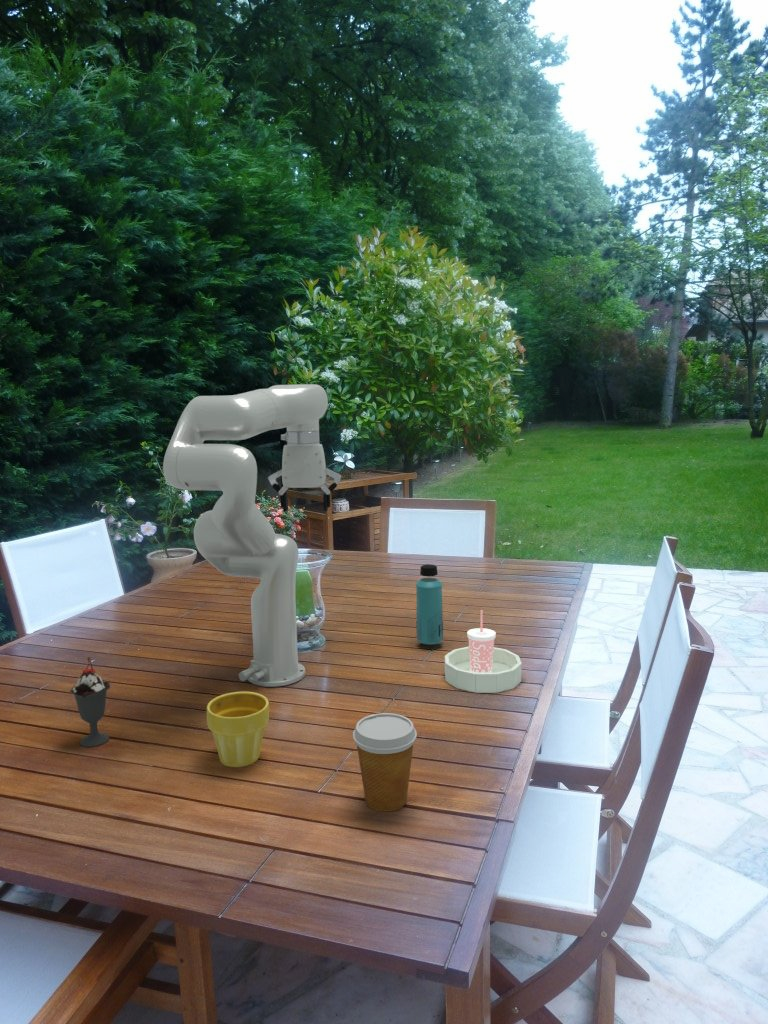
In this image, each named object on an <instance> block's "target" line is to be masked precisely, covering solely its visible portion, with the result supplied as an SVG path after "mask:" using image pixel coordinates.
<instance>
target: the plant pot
mask: <svg viewBox="0 0 768 1024" xmlns="http://www.w3.org/2000/svg"><path fill="white" fill-rule="evenodd" d="M269 720H270V703H269V699H268V698H267V697H266V696H264V695H263V694H261V693H258V692H253V691H235V692H227V693H224V694H221V695H218V696H216V697H214V698H213V699H211V700H210V701H209V702H208V703H207V705H206V724H207V727H208V730H210V731H211V732H212V735H213V736H212V737H213V739H214V743H215V747H216V749H217V750H216V751H217V753H218V754H217V755H218V758H219V761H220V762H221V764H222V765H223V766H227V767H229V768H230V767H231V768H242V767H247V766H249V765H253V764H254V763H256V762H257V761H258V760H259V758H260V756H261V749H262V743H263V737H264V733H265V727H266V726H267V725H268V723H269Z"/></svg>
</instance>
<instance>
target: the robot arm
mask: <svg viewBox="0 0 768 1024" xmlns="http://www.w3.org/2000/svg"><path fill="white" fill-rule="evenodd" d="M328 402H329V400H328V395H327V392H326V391H325V389H324V387H322V386H321V385H319V384H316V383H315V384H312V383H311V384H310V383H308V384H307V383H306V384H305V383H301V384H299V383H298V384H275V385H272V386H270V387H268V388H258V389H254V390H250V391H247V392H242V393H237V394H233V395H231V394H230V395H198V396H196V397H194V398H192V399H191V400H190V401H189V402H188V404H187V405H186V406H185V408H184V409H183V411H182V413H181V415H180V417H179V419H178V421H177V423H176V426H175V428H174V431H173V434H172V435H171V439H170V441H169V443H168V446H167V448H166V450H165V454H164V457H163V463H162V465H163V466H162V470H163V475H164V478H165V480H166V482H167V483H168V484H169V485H170V486H171V487H172V488H175V489H178V490H185V491H212V492H213V491H217V492H218V491H219V492H220V491H221V492H222V493H223V494H222V495H221V496H219V498H218V499H217V501H216V502H215V504H214V506H213V508H212V509H211V510H207V511H205V512H202V513H201V514H200V515H199V516H198V518H197V520H196V522H195V523H194V524H195V525H194V528H193V540H194V543H195V547H196V549H197V552H199V554H200V555H201V557H203V558H204V559H205V560H206V561H207V562H209V563H210V565H212V567H214V568H215V569H216V570H218V572H220V573H221V574H223V575H225V576H228V577H237V578H239V577H240V578H241V577H242V578H255V579H259V580H260V582H259V584H258V586H256V588H255V589H254V591H253V592H252V594H251V598H250V612H251V613H250V614H251V633H252V636H251V637H252V652H253V653H252V654H253V659H252V660H250V665H249V667H248V668H247V669H244V670H242V671H240V672H239V673H238V679H239V680H240V681H241V682H244V681H248V682H250V683H251V684H253V685H255V686H260V687H266V688H267V687H268V688H271V687H272V688H273V687H274V688H275V687H277V688H278V687H283V686H288V685H291V684H294V683H297V682H299V681H300V680H303V678H304V677H305V676H306V668H305V666H304V665H303V664H302V663H299V658H298V655H299V653H298V631H297V630H298V629H297V628H298V627H297V606H296V601H297V600H296V579H297V577H296V576H297V569H298V562H299V548H298V545H297V542H296V541H295V540H294V538H292V537H290V536H288V535H285V534H281V533H275V529H274V527H273V526H272V524H271V523H270V521H269V519H268V518H267V517H266V516H265V515H264V513H263V512H262V511H261V510H260V509H259V507H258V506H257V505H256V496H257V495H256V494H257V485H258V465H257V461H256V458H255V456H254V454H253V453H252V452H251V450H250V449H247V448H246V447H244V446H242V445H241V446H240V445H237V444H230V443H204V442H205V441H242V440H247V439H250V438H252V437H255V436H257V435H259V434H262V433H266V432H268V431H272V430H279V429H284V428H286V432H285V433H284V434H280V440H281V441H285V442H286V444H284V445H283V449H282V460H281V461H282V462H281V467H282V468H281V469H280V470H277V471H276V472H274V473H272V474H271V475H269V476H268V477H267V479H268V481H269V483H270V485H271V486H272V488H273V490H275V491H276V492H277V493H278V494H279V497H280V498H279V499H280V508H281V509H282V512H283V513H285V512H288V510H289V496H288V495H289V494H288V493H287V491H288V490H289V489H290V488H292V489H297V488H299V489H300V488H301V489H302V488H303V489H305V488H312V489H313V488H321V490H322V491H323V500H322V501H323V512H328V510H329V508H331V493H332V492H333V491H334V490H335V489H336V488H337V487H338V485H339V482H340V481H341V480H342V479H341V478H342V475H341V474H339V473H337V472H335V471H334V470H332V469H329V468H328V467H326V466H327V465H326V458H325V451H324V447H323V444H322V443H320V423H319V422H320V419H322V418H323V417H324V415H325V414H326V412H327V409H328V406H329V405H328V404H329V403H328ZM327 476H329V477H331V478H332V479H333V482H331V483H332V484H330V485H328V484H327ZM279 477H281V481H282V485H283V486H281V485H280V484H279V483H278V482H277V479H278V478H279Z"/></svg>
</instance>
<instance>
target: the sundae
mask: <svg viewBox="0 0 768 1024" xmlns="http://www.w3.org/2000/svg"><path fill="white" fill-rule="evenodd" d="M86 659H87V662H89V663H88V665H87V666H86V667H85V668H84V669H82V673H81V675H80V676H78V679H77V681H76V684H75V685H73V686H72V687H71V688H70V689H69V693H70V694H72V695H73V696H74V698H75V702H76V705H77V710H78V714H79V717H80V718H81V720H83V721H84V722H85V723H88V724H89V729H90V730H89V734H88V735H86V736H84V737H83V738H81V739H80V741H79V744H80V745H81V746H83V747H84V748H85V747H86V748H91V747H92V748H93V747H98V746H101V745H103V744H105V743H107V742H108V741H109V740H110V735H109V734H107V733H105V732H99V729H98V722H99V721H100V720H101V719H102V718H103V717H104V715H105V709H106V702H107V701H106V700H107V699H106V697H107V691H109V690H110V688H111V682H109V681H108V680H105V679H102V677H101V676H100V675H98V674H96V670H95V669H94V668H93V665H92V662H91V657H90V656H89V657H87V658H86ZM89 666H90V667H91V668H90V669H89Z"/></svg>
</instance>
